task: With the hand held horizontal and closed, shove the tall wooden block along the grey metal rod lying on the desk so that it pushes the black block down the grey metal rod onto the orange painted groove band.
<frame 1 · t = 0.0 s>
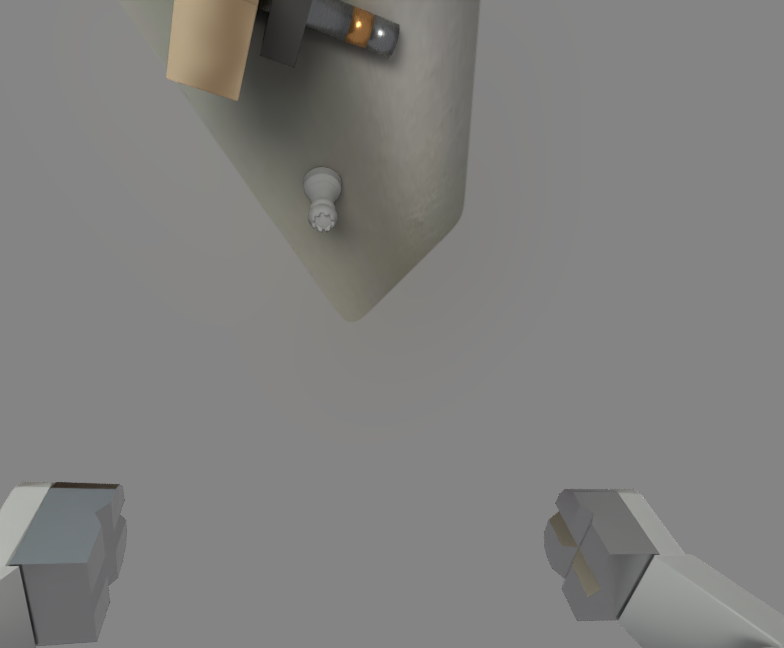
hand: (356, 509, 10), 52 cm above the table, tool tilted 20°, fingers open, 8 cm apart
grey metal rod: (316, 5, 51), on the table
rook chess piece: (322, 180, 65), on the table
tall wooden block: (223, 4, 43), point 8 cm above the table, slide at 0.0 cm
black block: (288, 7, 48), point 3 cm above the table, slide at 0.0 cm
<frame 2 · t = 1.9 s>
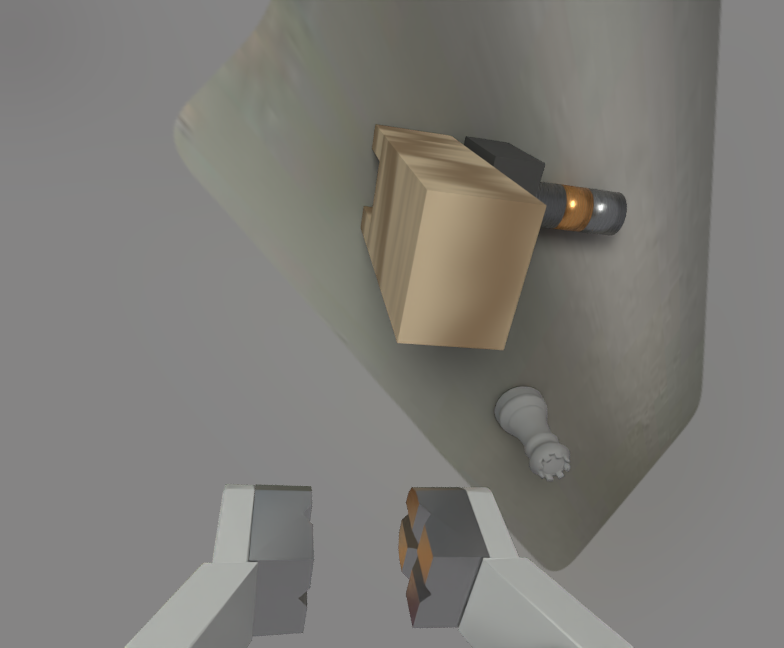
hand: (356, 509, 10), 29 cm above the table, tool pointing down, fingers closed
grey metal rod: (507, 195, 39), on the table
rook chess piece: (516, 402, 48), on the table
tall wooden block: (429, 219, 30), point 8 cm above the table, slide at 0.0 cm
black block: (488, 205, 35), point 3 cm above the table, slide at 0.0 cm
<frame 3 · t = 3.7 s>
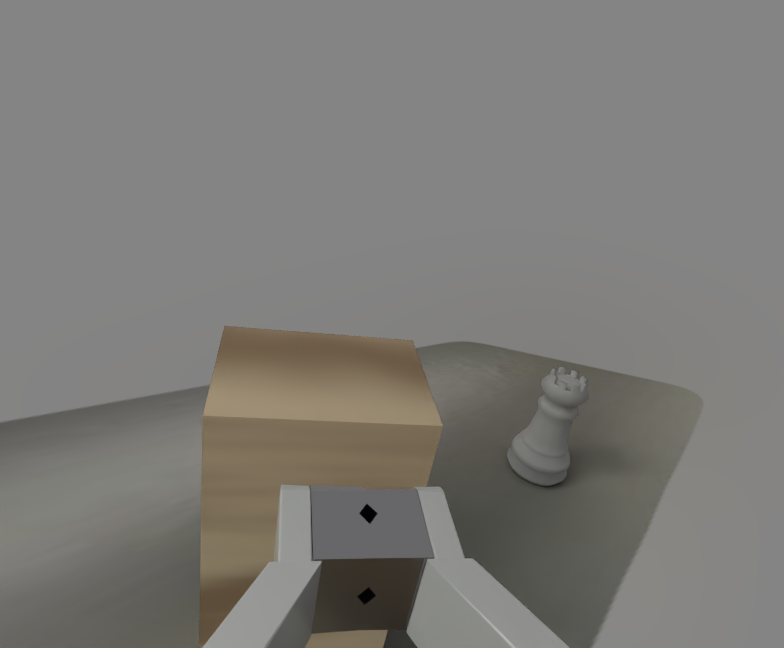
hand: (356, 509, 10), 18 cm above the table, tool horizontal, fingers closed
rook chess piece: (534, 469, 40), on the table
tall wooden block: (301, 540, 21), point 8 cm above the table, slide at 0.0 cm
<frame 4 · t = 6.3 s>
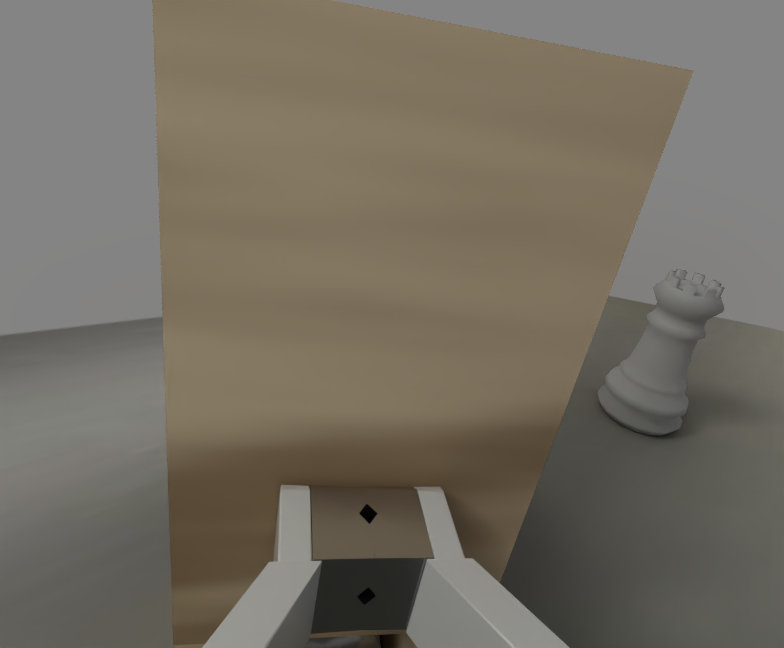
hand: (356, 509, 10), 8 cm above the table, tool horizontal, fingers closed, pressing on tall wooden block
grey metal rod: (310, 490, 21), on the table
rook chess piece: (634, 416, 30), on the table
tall wooden block: (350, 415, 12), point 8 cm above the table, slide at 1.7 cm, touching gripper, black block
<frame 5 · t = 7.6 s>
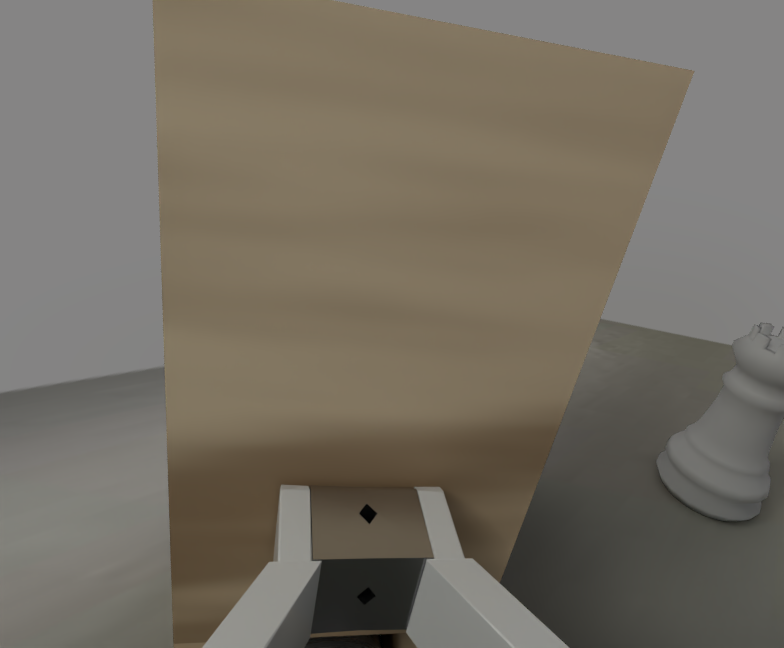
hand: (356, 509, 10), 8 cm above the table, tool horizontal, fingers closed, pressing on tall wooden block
grey metal rod: (315, 628, 16), on the table
rook chess piece: (700, 492, 25), on the table
tall wooden block: (351, 415, 12), point 8 cm above the table, slide at 7.2 cm, touching gripper, black block
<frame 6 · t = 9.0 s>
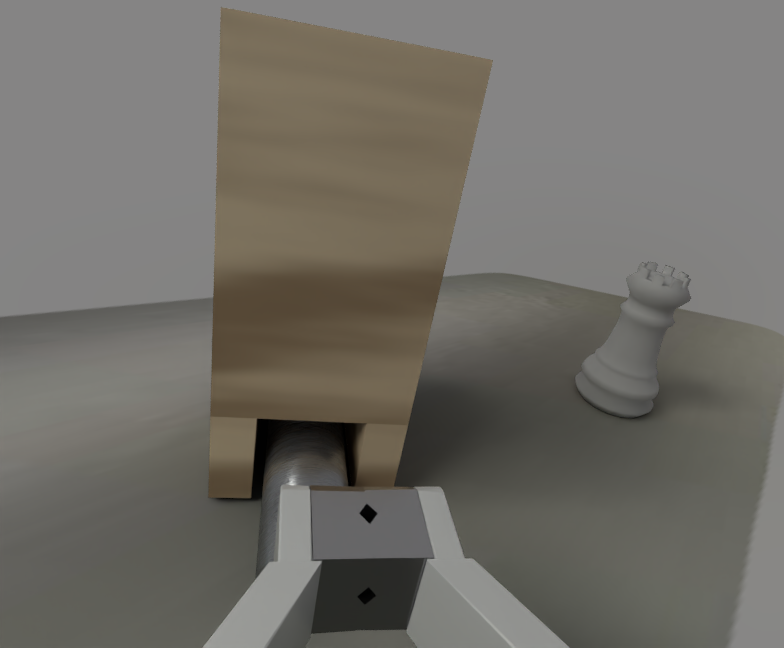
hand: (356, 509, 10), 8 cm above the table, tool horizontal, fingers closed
grey metal rod: (301, 456, 23), on the table
rook chess piece: (609, 400, 32), on the table
tall wooden block: (323, 282, 19), point 8 cm above the table, slide at 7.4 cm, touching black block
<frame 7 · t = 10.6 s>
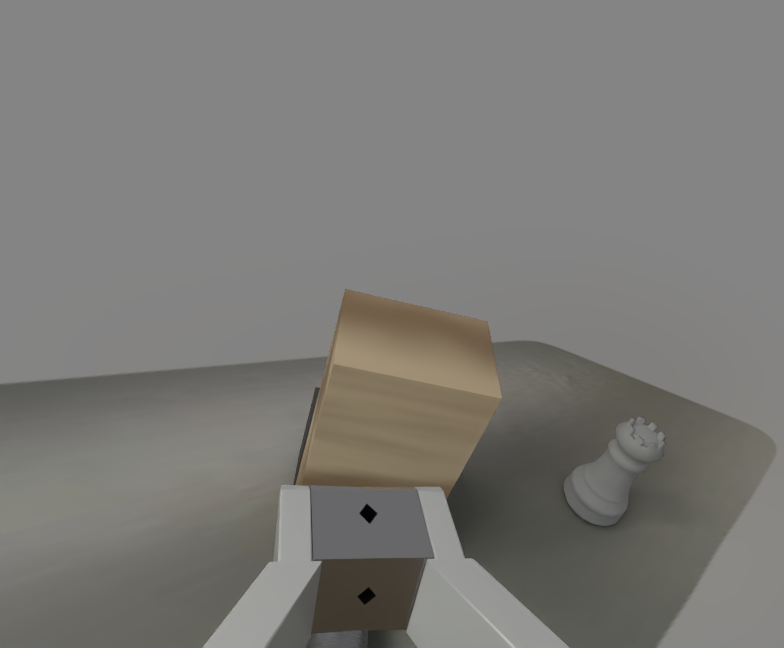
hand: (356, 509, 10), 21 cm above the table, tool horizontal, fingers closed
grey metal rod: (343, 536, 33), on the table
rook chess piece: (588, 503, 40), on the table
tall wooden block: (374, 454, 28), point 8 cm above the table, slide at 7.4 cm, touching black block
black block: (359, 450, 34), point 3 cm above the table, slide at 6.4 cm, touching tall wooden block
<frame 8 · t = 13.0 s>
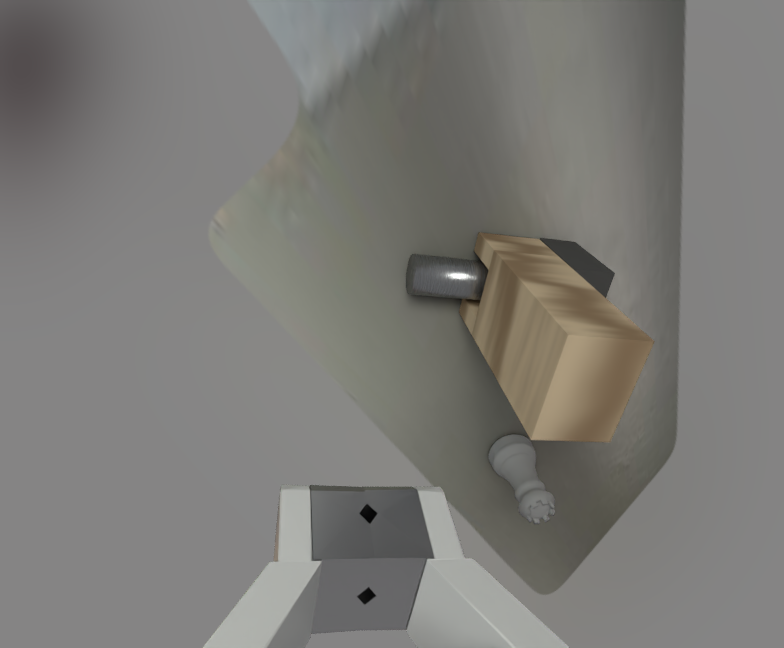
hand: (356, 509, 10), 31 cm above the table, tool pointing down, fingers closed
grey metal rod: (498, 275, 44), on the table
rook chess piece: (508, 448, 53), on the table
tall wooden block: (535, 323, 37), point 8 cm above the table, slide at 7.4 cm, touching black block
black block: (560, 297, 42), point 3 cm above the table, slide at 6.4 cm, touching tall wooden block
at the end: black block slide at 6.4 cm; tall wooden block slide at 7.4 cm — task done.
